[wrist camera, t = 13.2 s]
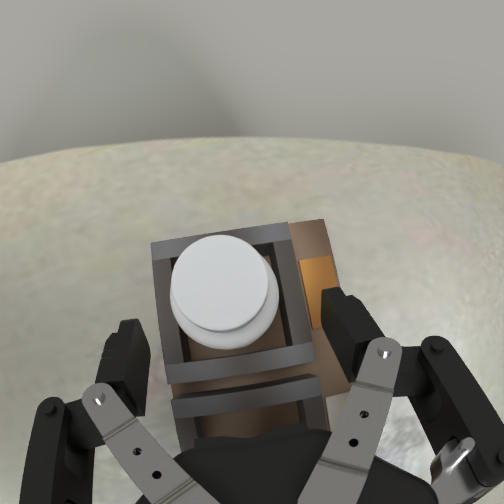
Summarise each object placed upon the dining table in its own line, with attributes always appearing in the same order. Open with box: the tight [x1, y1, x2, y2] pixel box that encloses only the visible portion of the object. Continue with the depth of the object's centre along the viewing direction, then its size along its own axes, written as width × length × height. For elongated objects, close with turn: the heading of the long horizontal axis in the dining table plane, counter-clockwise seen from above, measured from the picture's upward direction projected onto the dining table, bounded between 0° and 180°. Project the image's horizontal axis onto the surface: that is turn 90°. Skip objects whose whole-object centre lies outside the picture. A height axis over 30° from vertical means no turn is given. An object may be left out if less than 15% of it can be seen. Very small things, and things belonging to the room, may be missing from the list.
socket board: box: [151, 219, 353, 452], centre depth 20 cm, size 13×21×4 cm, turn 10°
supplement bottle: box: [170, 235, 279, 350], centre depth 17 cm, size 5×5×10 cm
